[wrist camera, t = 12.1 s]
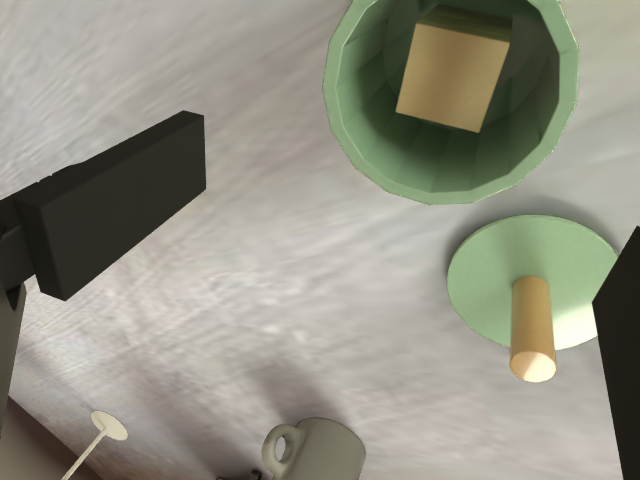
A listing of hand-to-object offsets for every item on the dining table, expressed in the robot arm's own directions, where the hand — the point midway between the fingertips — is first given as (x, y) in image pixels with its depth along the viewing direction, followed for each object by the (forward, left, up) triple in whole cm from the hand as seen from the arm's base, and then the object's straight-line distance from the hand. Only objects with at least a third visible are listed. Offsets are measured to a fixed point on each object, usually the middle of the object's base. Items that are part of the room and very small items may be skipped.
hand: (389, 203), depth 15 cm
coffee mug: (-17, +47, -24) cm, 55 cm away
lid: (-17, +11, -23) cm, 31 cm away
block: (0, 0, -23) cm, 23 cm away
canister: (0, 0, -24) cm, 24 cm away
